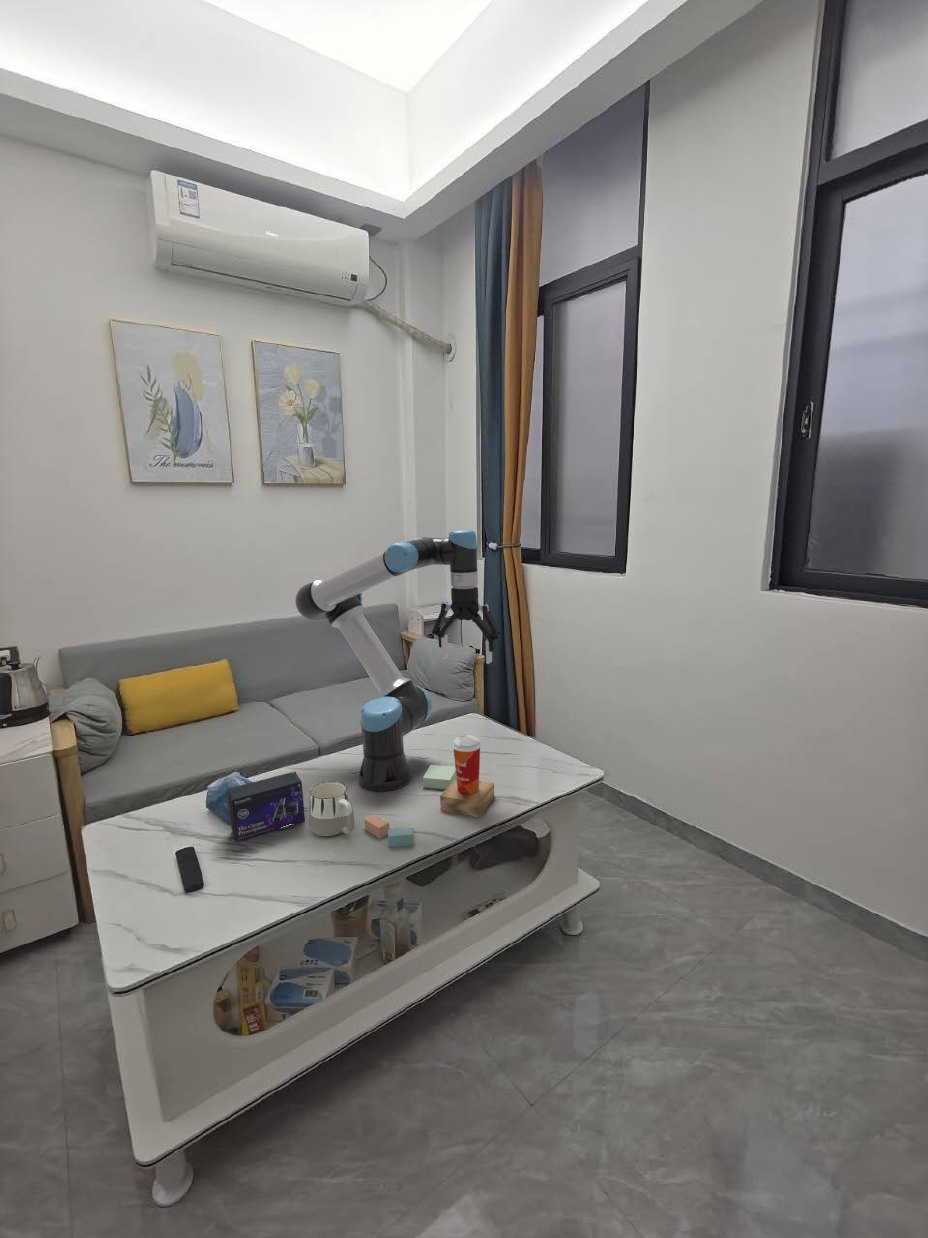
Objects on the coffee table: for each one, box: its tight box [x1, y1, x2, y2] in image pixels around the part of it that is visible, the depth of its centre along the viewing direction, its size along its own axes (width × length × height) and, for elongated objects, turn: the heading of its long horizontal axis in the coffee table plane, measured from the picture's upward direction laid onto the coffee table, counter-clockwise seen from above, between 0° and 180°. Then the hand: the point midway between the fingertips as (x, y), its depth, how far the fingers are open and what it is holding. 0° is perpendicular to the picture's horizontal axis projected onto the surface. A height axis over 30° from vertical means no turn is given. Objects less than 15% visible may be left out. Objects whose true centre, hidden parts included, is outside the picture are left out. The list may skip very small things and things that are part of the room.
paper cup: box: [451, 734, 482, 795], centre depth 152 cm, size 8×8×14 cm
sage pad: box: [422, 764, 456, 790], centre depth 166 cm, size 8×8×3 cm
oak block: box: [439, 778, 495, 818], centre depth 154 cm, size 11×11×4 cm
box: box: [226, 770, 306, 843], centre depth 145 cm, size 17×7×12 cm, turn 121°
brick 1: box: [364, 813, 390, 839], centre depth 143 cm, size 6×3×3 cm, turn 45°
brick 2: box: [387, 826, 415, 848], centre depth 138 cm, size 6×3×3 cm, turn 95°
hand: (466, 660), depth 164 cm, fingers open, 13 cm apart
